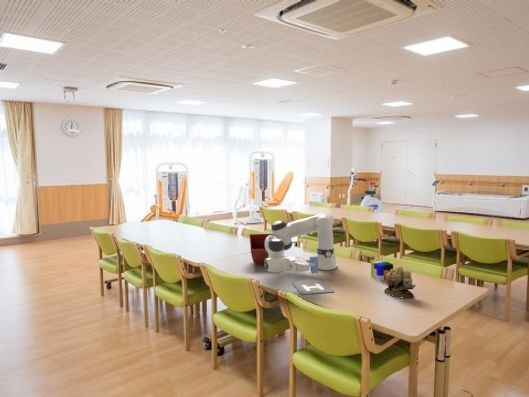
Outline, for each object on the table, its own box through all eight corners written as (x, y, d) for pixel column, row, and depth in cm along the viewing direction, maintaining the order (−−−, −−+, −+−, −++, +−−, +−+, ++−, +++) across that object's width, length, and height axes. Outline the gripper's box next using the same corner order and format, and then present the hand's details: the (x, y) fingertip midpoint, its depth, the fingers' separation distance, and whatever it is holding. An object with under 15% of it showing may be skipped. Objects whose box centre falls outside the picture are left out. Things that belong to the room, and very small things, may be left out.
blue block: (310, 271, 239) (309, 255, 238) (317, 270, 239) (315, 255, 238) (312, 273, 235) (310, 257, 234) (318, 272, 235) (317, 256, 234)
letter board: (292, 284, 246) (292, 283, 246) (322, 281, 250) (322, 280, 250) (301, 295, 226) (301, 294, 226) (334, 292, 230) (334, 291, 230)
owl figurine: (419, 295, 224) (419, 266, 222) (410, 301, 215) (411, 271, 213) (389, 288, 236) (389, 260, 234) (380, 293, 228) (380, 265, 226)
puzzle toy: (379, 281, 250) (379, 265, 249) (370, 276, 259) (371, 261, 258) (392, 279, 252) (393, 264, 251) (384, 275, 262) (384, 260, 261)
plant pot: (274, 250, 306) (274, 233, 297) (276, 266, 289) (277, 248, 281) (249, 251, 304) (249, 234, 296) (250, 267, 288) (250, 249, 280)
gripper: (288, 264, 246) (310, 263, 247) (294, 273, 226) (317, 272, 227) (288, 254, 245) (310, 253, 246) (294, 263, 225) (317, 262, 226)
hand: (314, 262), depth 236 cm, fingers closed on blue block, 4 cm apart
